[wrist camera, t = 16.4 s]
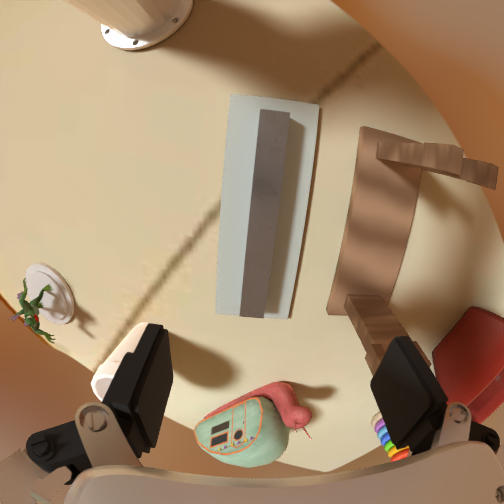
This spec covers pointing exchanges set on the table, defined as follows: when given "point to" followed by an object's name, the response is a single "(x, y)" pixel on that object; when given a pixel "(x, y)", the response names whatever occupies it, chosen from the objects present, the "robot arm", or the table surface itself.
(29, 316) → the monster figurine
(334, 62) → the table surface
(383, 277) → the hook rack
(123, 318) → the table surface
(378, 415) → the stacking toy
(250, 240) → the rail
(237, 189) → the mat
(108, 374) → the foam cup
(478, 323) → the plant pot
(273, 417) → the toy snail
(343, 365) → the table surface
